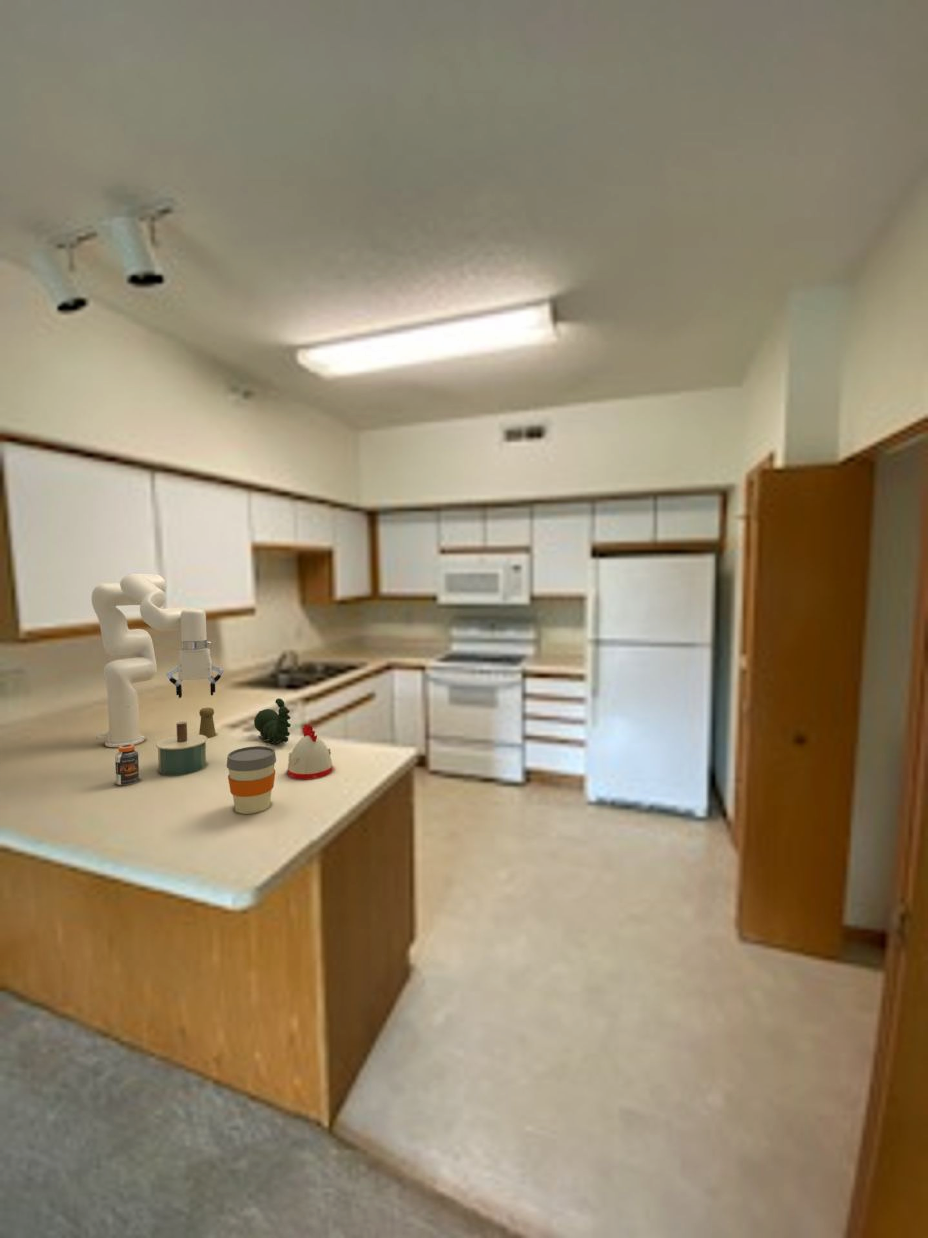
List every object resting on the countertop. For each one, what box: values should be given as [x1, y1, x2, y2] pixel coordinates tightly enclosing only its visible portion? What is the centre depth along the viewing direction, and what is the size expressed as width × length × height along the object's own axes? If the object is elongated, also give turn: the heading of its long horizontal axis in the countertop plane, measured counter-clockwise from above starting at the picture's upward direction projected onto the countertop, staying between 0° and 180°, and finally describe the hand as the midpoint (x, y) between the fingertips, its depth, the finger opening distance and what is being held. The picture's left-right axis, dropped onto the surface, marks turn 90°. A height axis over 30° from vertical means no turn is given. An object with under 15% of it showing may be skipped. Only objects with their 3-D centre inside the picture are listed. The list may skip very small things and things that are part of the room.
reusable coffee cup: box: [226, 745, 277, 815], centre depth 144 cm, size 13×13×15 cm
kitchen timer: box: [287, 724, 333, 780], centre depth 170 cm, size 14×14×15 cm
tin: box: [157, 741, 207, 776], centre depth 172 cm, size 14×14×8 cm
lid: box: [156, 721, 208, 750], centre depth 172 cm, size 15×15×7 cm
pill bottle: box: [114, 744, 140, 786], centre depth 160 cm, size 6×6×11 cm
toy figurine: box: [253, 698, 292, 745], centre depth 202 cm, size 9×19×25 cm
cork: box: [198, 707, 217, 739], centre depth 207 cm, size 6×6×11 cm
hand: (196, 695), depth 178 cm, fingers open, 9 cm apart
